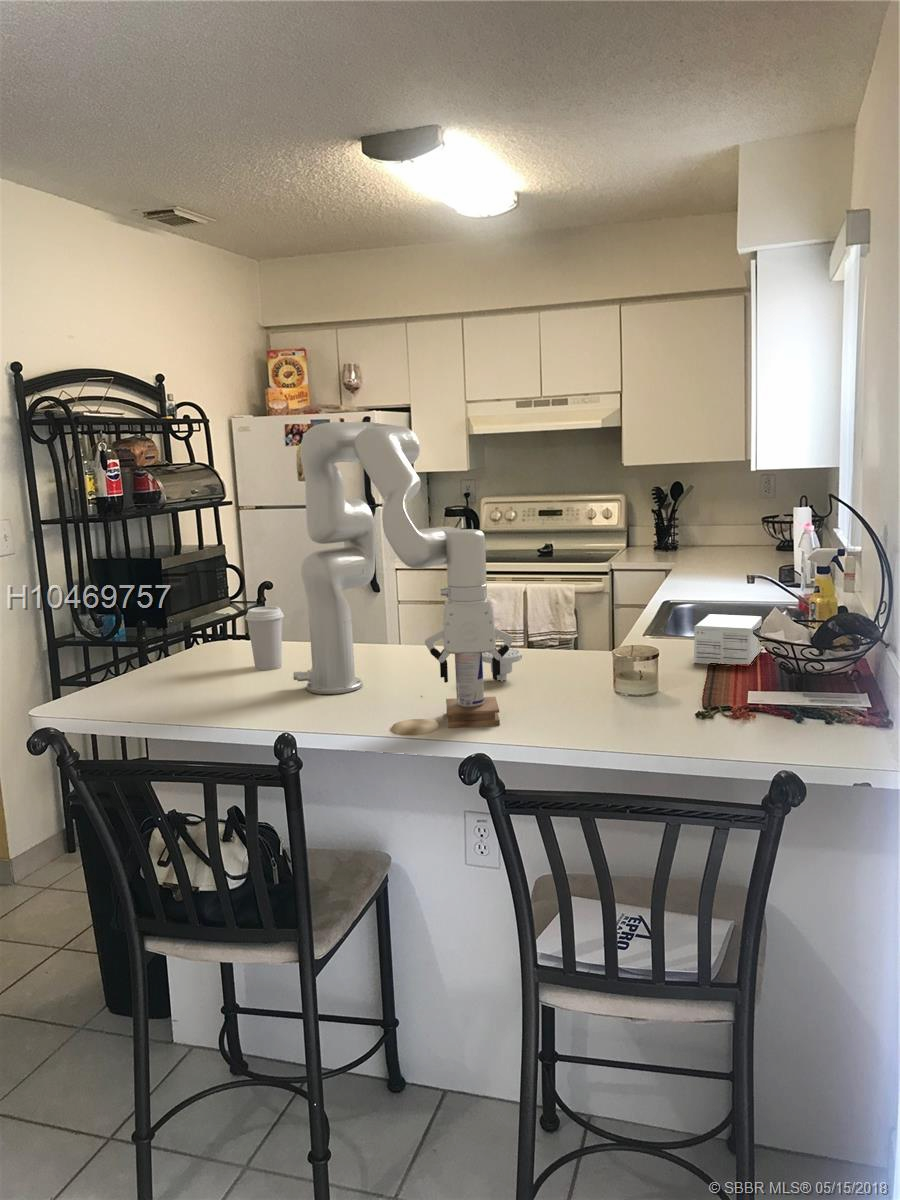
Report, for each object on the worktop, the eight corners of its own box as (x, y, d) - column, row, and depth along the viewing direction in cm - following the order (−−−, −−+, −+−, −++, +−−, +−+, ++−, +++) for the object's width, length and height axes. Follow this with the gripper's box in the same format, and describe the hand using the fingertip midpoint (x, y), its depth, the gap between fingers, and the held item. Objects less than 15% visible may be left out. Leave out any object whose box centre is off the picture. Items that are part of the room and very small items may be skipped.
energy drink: (487, 701, 187) (485, 642, 185) (479, 708, 182) (477, 647, 180) (461, 700, 189) (459, 641, 187) (453, 707, 184) (450, 647, 182)
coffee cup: (295, 665, 240) (291, 607, 237) (269, 673, 232) (264, 613, 229) (267, 661, 245) (263, 604, 242) (241, 669, 237) (236, 611, 234)
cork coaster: (392, 738, 177) (391, 734, 177) (392, 724, 186) (391, 720, 186) (439, 735, 177) (439, 731, 177) (437, 721, 186) (437, 717, 186)
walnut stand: (447, 727, 181) (447, 712, 180) (446, 713, 191) (446, 698, 190) (499, 725, 181) (499, 710, 181) (495, 710, 191) (495, 696, 190)
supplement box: (750, 667, 218) (751, 628, 217) (693, 664, 224) (693, 625, 222) (762, 652, 233) (762, 615, 231) (708, 649, 239) (708, 612, 237)
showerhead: (481, 644, 220) (524, 644, 218) (482, 674, 221) (524, 675, 219) (474, 653, 211) (518, 653, 209) (475, 685, 212) (519, 685, 210)
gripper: (422, 598, 178) (426, 686, 181) (513, 595, 178) (516, 682, 181) (422, 592, 185) (426, 677, 188) (510, 588, 186) (512, 673, 189)
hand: (470, 679), depth 185 cm, fingers open, 9 cm apart
